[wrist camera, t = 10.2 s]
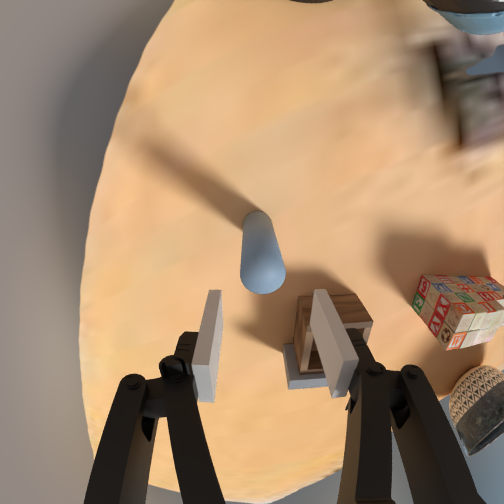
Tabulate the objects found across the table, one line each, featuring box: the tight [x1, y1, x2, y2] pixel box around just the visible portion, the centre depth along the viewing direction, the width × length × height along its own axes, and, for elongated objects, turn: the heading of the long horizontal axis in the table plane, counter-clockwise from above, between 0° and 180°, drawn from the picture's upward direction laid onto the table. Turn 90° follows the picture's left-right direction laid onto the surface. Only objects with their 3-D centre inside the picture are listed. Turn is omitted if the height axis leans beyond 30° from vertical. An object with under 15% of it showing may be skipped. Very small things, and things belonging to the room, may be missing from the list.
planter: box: [449, 365, 504, 456], centre depth 41 cm, size 20×20×21 cm
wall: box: [283, 344, 328, 389], centre depth 39 cm, size 2×12×8 cm, turn 89°
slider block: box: [293, 295, 373, 375], centre depth 37 cm, size 9×9×7 cm
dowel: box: [240, 211, 286, 294], centre depth 28 cm, size 4×4×14 cm
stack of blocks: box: [411, 275, 504, 351], centre depth 34 cm, size 21×6×12 cm, turn 86°
